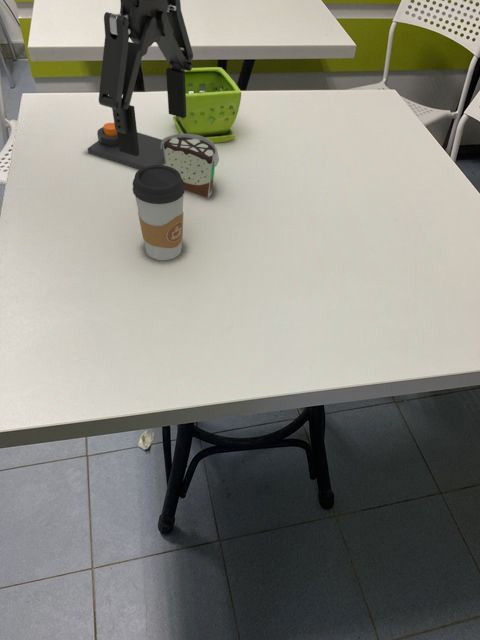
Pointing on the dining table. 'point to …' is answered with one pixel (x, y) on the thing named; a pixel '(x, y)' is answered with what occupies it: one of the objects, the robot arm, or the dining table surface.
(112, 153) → the dark grey flat block
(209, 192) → the food container
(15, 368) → the dining table surface
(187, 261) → the dining table surface
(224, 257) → the dining table surface
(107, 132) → the button
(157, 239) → the coffee cup
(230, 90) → the flower pot
